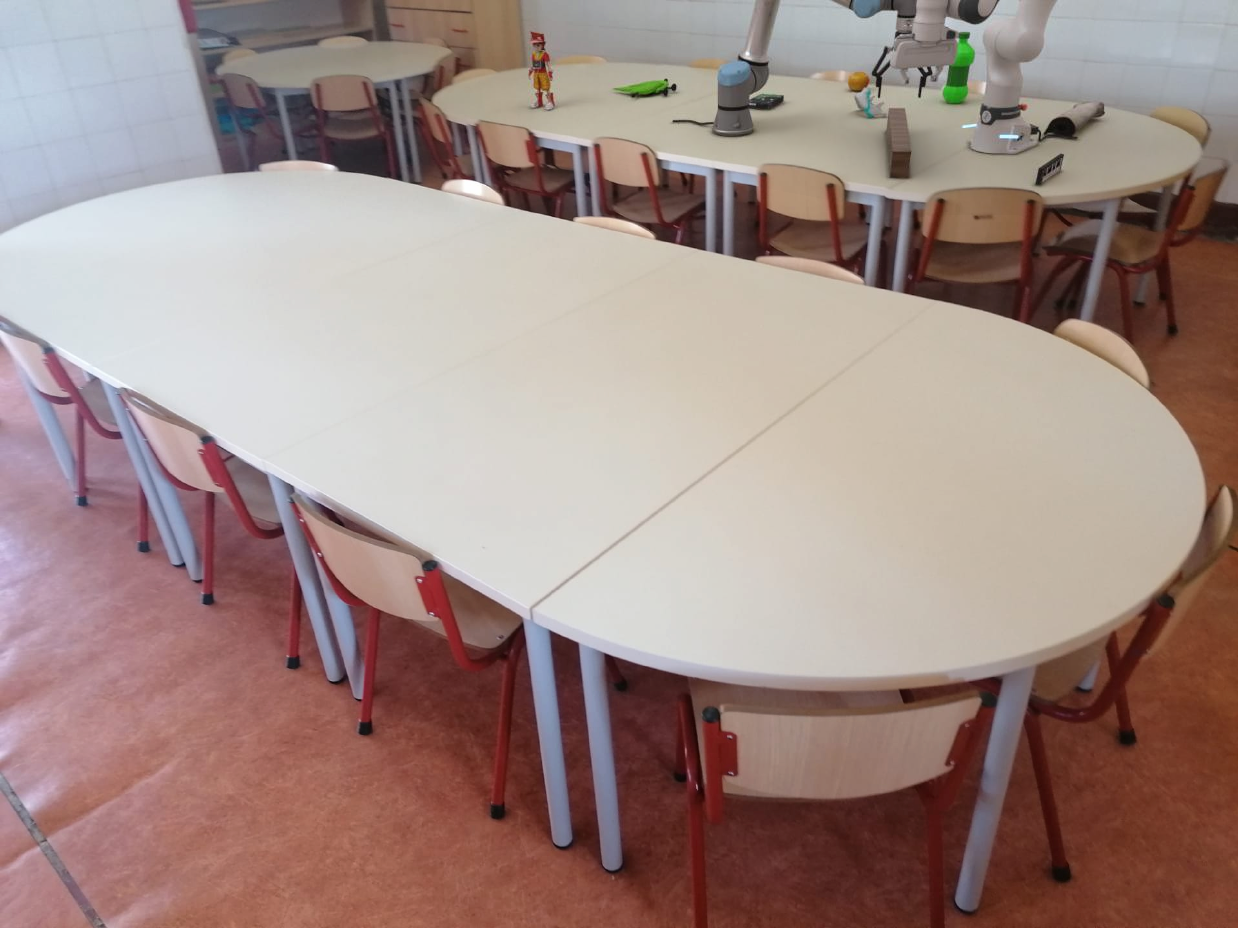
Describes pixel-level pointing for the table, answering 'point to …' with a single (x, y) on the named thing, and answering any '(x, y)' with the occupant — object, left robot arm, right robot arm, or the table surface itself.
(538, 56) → the toy
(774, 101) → the disk drive
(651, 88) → the toy
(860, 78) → the fruit
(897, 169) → the post
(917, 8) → the right robot arm
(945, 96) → the plastic bottle
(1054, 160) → the midi keyboard
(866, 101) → the anatomical model
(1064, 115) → the rolled mat
